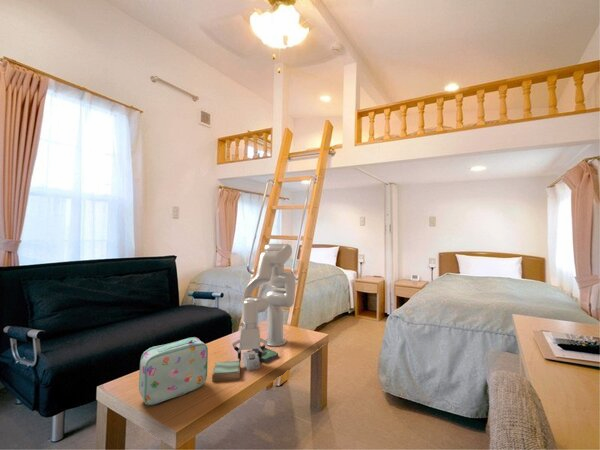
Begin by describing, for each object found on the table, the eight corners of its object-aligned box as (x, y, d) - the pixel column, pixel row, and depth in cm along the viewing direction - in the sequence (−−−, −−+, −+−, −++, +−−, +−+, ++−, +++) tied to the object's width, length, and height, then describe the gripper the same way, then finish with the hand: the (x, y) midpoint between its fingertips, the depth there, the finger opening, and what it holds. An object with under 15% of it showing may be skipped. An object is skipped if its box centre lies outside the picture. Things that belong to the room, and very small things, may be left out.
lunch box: (201, 376, 133) (201, 330, 134) (211, 385, 126) (211, 336, 126) (137, 400, 115) (137, 346, 115) (144, 411, 107) (144, 354, 108)
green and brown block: (215, 369, 140) (215, 362, 141) (240, 367, 142) (240, 360, 143) (212, 381, 129) (212, 374, 129) (239, 379, 131) (239, 371, 131)
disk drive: (246, 356, 156) (264, 364, 146) (246, 351, 156) (264, 359, 146) (260, 350, 163) (278, 357, 154) (260, 345, 164) (278, 352, 154)
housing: (242, 362, 148) (242, 350, 148) (253, 360, 150) (253, 348, 150) (247, 372, 138) (247, 359, 138) (259, 369, 140) (259, 357, 140)
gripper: (232, 328, 139) (231, 363, 139) (267, 326, 142) (267, 361, 141) (233, 323, 147) (232, 357, 146) (267, 322, 150) (266, 355, 149)
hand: (249, 359), depth 144 cm, fingers open, 9 cm apart
